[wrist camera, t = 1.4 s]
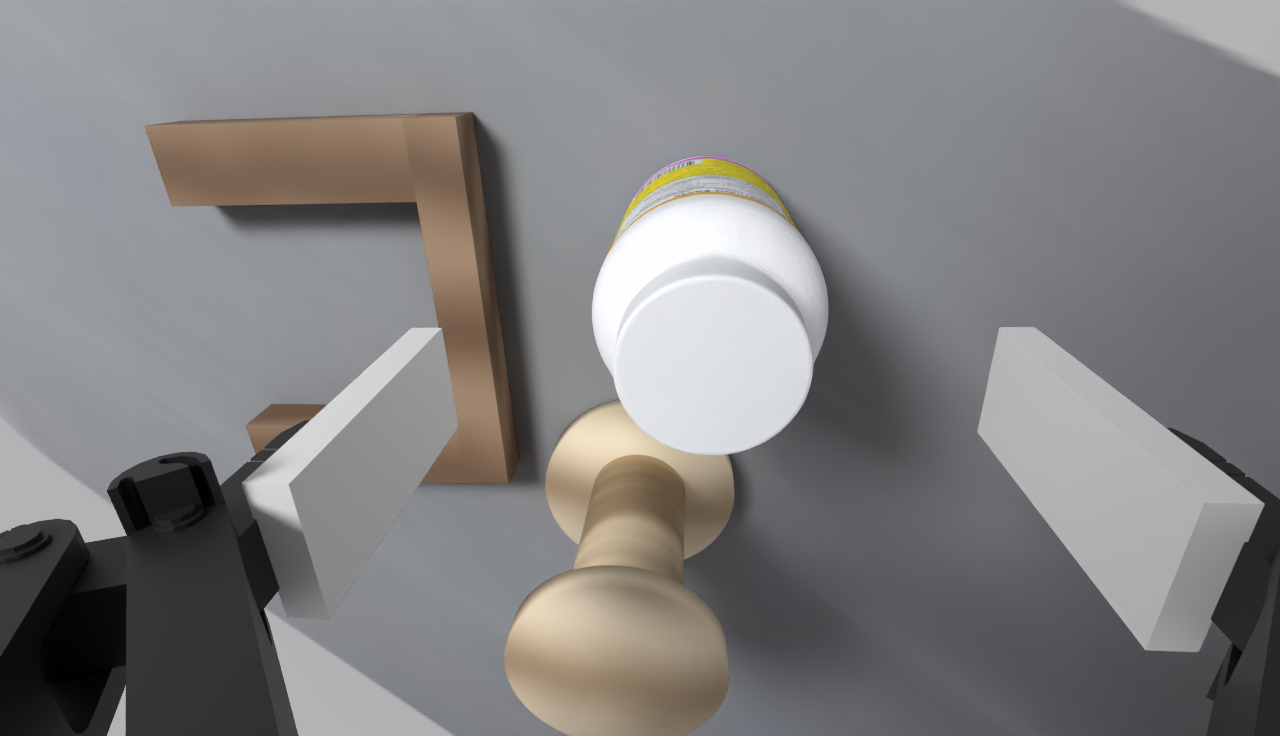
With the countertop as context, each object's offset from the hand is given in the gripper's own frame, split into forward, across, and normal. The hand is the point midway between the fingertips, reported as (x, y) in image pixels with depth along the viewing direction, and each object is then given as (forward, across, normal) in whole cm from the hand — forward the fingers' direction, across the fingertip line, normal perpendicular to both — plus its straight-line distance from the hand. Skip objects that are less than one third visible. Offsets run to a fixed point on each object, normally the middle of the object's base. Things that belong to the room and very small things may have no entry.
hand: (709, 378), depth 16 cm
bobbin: (+12, -3, -11) cm, 17 cm away
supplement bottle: (+12, 0, +1) cm, 13 cm away
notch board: (+12, -15, -2) cm, 20 cm away
